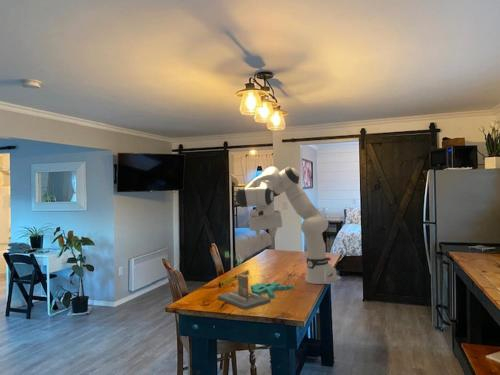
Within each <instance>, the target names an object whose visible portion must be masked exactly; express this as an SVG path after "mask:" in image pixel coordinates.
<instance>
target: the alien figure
mask: <svg viewBox="0 0 500 375" xmlns="http://www.w3.org/2000/svg"><path fill="white" fill-rule="evenodd" d="M290 289H292V290H294V285H292V284H289V285H281V283H280V282H275V281H274V282H266V283H264V282H263V283H255V284H252V285H250V292H252V293H255V294H258V295H261V296H262V295H264V294H267V296H268V298H269V299H273V298H275V297H276V293H274V291H282V290H283V291H286V290H290Z"/></svg>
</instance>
